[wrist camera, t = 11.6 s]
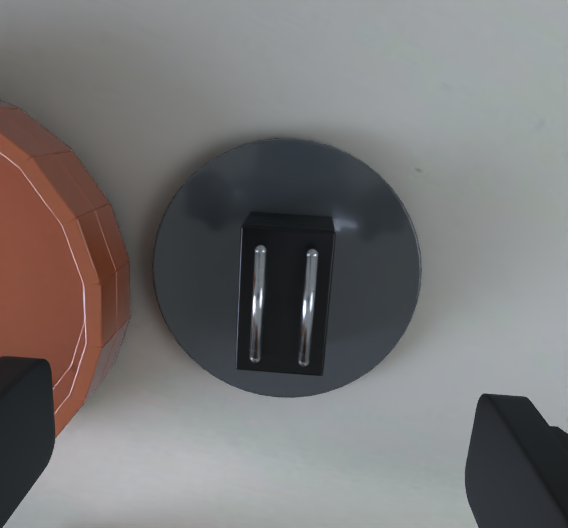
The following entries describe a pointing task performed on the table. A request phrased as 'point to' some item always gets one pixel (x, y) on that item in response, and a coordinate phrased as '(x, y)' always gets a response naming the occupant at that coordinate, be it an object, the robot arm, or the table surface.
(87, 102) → the table surface
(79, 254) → the bowl
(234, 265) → the plate
